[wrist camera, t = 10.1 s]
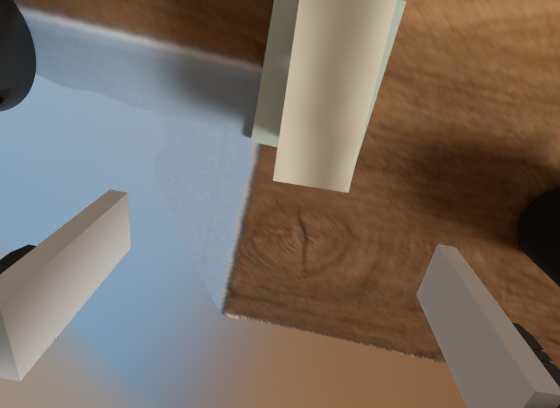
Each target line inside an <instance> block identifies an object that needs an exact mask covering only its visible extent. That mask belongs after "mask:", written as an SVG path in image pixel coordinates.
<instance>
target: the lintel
mask: <svg viewBox="0 0 560 408" xmlns="http://www.w3.org/2000/svg"><path fill="white" fill-rule="evenodd" d="M396 3H397V0H299V5H298V12H297V19H296V25H295V32H294V39H293V46H292V53H291V60H290V67H289V74H288V80H287V87H286V94H285V101H284V108H283V115H282V122H281V129H280V136H279V142H278V149H277V156H276V163H275V170H274V177H273V181H279V182H285V183H291V184H297V185H304V186H310V187H316V188H322V189H328V190H334V191H341V192H347V193H348V192H349V188H350V184H351V180H352V176H353V172H354V168H355V164H356V160H357V156H358V152H359V148H360V144H361V140H362V137H363V133H364V129H365V125H366V121H367V117H368V113H369V109H370V105H371V101H372V97H373V93H374V89H375V85H376V81H377V77H378V73H379V70H380V66H381V62H382V58H383V54H384V50H385V46H386V42H387V38H388V34H389V30H390V26H391V22H392V18H393V14H394V10H395V6H396Z"/></svg>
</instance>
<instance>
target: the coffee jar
mask: <svg viewBox="0 0 560 408" xmlns="http://www.w3.org/2000/svg"><path fill="white" fill-rule="evenodd" d="M519 243H520V245H521V247H522V249H523V251H524V253H525V254H526V255H527V256H528V257H529V258H530V259H531V260H532V261H533V262H534V263H535V264H536V265H537V266H539V267H540V268H541V269H542V270H543V271H544V272H545V273H546V274H547V275H548V276H549V277H550V278H551V279H552V280H553V281H554V282H555V283H556V284H557V285H558V286H559V287H560V188H558V189H555V190H553V191H551V192H548V193H546V194H544V195H542V196H541V197H540V198H538V199H537V200H536V201H535V202H533V203H532V204H531V205H530V206H529V208H528V209H527V210H526V212H525V213H524V214H523V217H522V219H521V222H520V225H519Z"/></svg>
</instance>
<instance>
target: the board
mask: <svg viewBox="0 0 560 408" xmlns="http://www.w3.org/2000/svg"><path fill="white" fill-rule="evenodd" d="M405 4H406V1H401V0H397V3H396V6H395V10H394V14H393V18H392V22H391V26H390V30H389V34H388V38H387V42H386V46H385V50H384V54H383V58H382V62H381V66H380V70H379V73H378V77H377V81H376V85H375V89H374V93H373V97H372V101H371V105H370V109H369V113H368V117H367V121H366V125H365V129H364V133H363V137H362V140H361V144H360V148H361V145H362V142H363V139H364V135H365V132H366V129H367V126H368V123H369V119H370V116H371V113H372V110H373V107H374V103H375V100H376V97H377V94H378V91H379V87H380V84H381V81H382V78H383V75H384V71H385V68H386V65H387V62H388V59H389V55H390V52H391V49H392V46H393V43H394V39H395V36H396V33H397V30H398V27H399V23H400V20H401V17H402V14H403V11H404V8H405ZM298 5H299V0H274V3H273V9H272V15H271V21H270V27H269V33H268V40H267V46H266V52H265V58H264V64H263V70H262V76H261V82H260V88H259V94H258V100H257V106H256V112H255V118H254V125H253V131H252V137H251V142H256V143H260V144H265V145H270V146H274V147H278V142H279V136H280V129H281V122H282V115H283V108H284V101H285V94H286V87H287V80H288V74H289V67H290V60H291V53H292V46H293V39H294V32H295V25H296V19H297V12H298ZM360 148H359V151H360ZM358 154H359V152H358ZM357 158H358V156H357ZM356 161H357V160H356Z"/></svg>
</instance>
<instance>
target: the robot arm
mask: <svg viewBox="0 0 560 408" xmlns="http://www.w3.org/2000/svg"><path fill="white" fill-rule="evenodd" d="M35 72H36V56H35V49H34V44H33V40H32V37H31V34H30V31H29V29H28V26H27V24H26V22H25V20H24V18H23V16H22V14H21V12H20V11H19V9H18V7H17V6H16V5H15V3H14V2H13V0H0V111H4V110H7V109H10V108H12V107H14V106H16V105H17V104H19V103H20V102H21V101H22V100H23V99H24V98H25V97H26V96H27V94H28V93H29V91H30V89H31V87H32V84H33V81H34V77H35ZM130 248H131V246H130V226H129V203H128V193H126V192H120V191H114V190H109V191H107V192H106V193H105V194H104V195H102V196H101V197H100V198H98V199H97V200H96V201H94V202H93V203H92V204H91V205H89V206H88V207H87V208H85V209H84V210H83V211H82V212H80V213H79V214H78V215H76V216H75V217H74V218H73V219H71V220H70V221H69V222H67V223H66V224H65V225H64V226H62V227H61V228H60V229H58V230H57V231H56V232H55V233H53V234H52V235H51V236H49V237H48V238H47V239H45V240H44V241H43V242H42V243H40V244H39V245H38V246H33V245H27V246H24V247H22V248H20V249H17V250H15V251H13V252H10V253H9V254H8V255H6V256H5V257H4V258H2V259H1V260H0V378H5V379H11V380H17V381H21V380H22V378H23V377H24V376H25V375H26V374H27V372H28V371H29V370H30V369H31V368H32V366H33V365H34V364H35V363H36V361H37V360H38V359H39V358H40V357H41V356H42V354H43V353H44V352H45V351H46V349H47V348H48V347H49V346H50V345H51V343H52V342H53V341H54V340H55V339H56V337H57V336H58V335H59V334H60V332H61V331H62V330H63V329H64V328H65V326H66V325H67V324H68V323H69V322H70V320H71V319H72V318H73V317H74V316H75V314H76V313H77V312H78V311H79V309H80V308H81V307H82V306H83V305H84V303H85V302H86V301H87V300H88V299H89V298H90V296H91V295H92V294H93V293H94V291H95V290H96V289H97V288H98V287H99V285H100V284H101V283H102V282H103V281H104V279H105V278H106V277H107V276H108V275H109V273H110V272H111V271H112V270H113V269H114V267H115V266H116V265H117V264H118V262H119V261H120V260H121V259H122V258H123V256H124V255H125V254H126V253H127V251H128V250H129V249H130ZM416 295H417V297H418V300H419V302H420V304H421V306H422V309H423V311H424V313H425V315H426V318H427V320H428V322H429V324H430V327H431V329H432V331H433V333H434V335H435V338H436V340H437V342H438V344H439V347H440V349H441V351H442V353H443V356H444V358H445V360H446V362H447V365H448V366H449V368H450V371H451V373H452V376H453V378H454V380H455V382H456V384H457V387H458V389H459V391H460V393H461V396H462V398H463V400H464V402H465V405H466V407H467V408H560V370H559V369H558V367H557V366H556V365H554V364H553V361H552V360H551V359H550V357H549V356H548V355H547V353H544V350H543V348H542V347H541V346H540V344H539V343H538V342H537V341H536V339H535V338H534V337H533V336H532V335H531V334H530V333H529V332H527V331H526V330H525V329H524V328H523V327H522V326H520V325H519V324H517V323H511V321H510V320H509V318H508V317H507V316H506V314H505V313H504V312H503V310H502V309H501V308H500V306H499V305H498V304H497V302H496V301H495V300H494V298H493V297H492V296H491V294H490V293H489V291H488V290H487V289H486V287H485V286H484V285H483V283H482V282H481V281H480V279H479V278H478V277H477V275H476V274H475V273H474V271H473V270H472V269H471V267H470V266H469V264H468V263H467V262H466V260H465V259H464V258H463V256H462V255H461V254H460V252H459V251H458V250H457V248H456V247H451V246H445V245H439V244H438V245H437V248H436V250H435V252H434V255H433V257H432V259H431V262H430V264H429V266H428V269H427V271H426V273H425V276H424V278H423V280H422V283H421V285H420V287H419V290H418V292H417V294H416Z"/></svg>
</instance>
